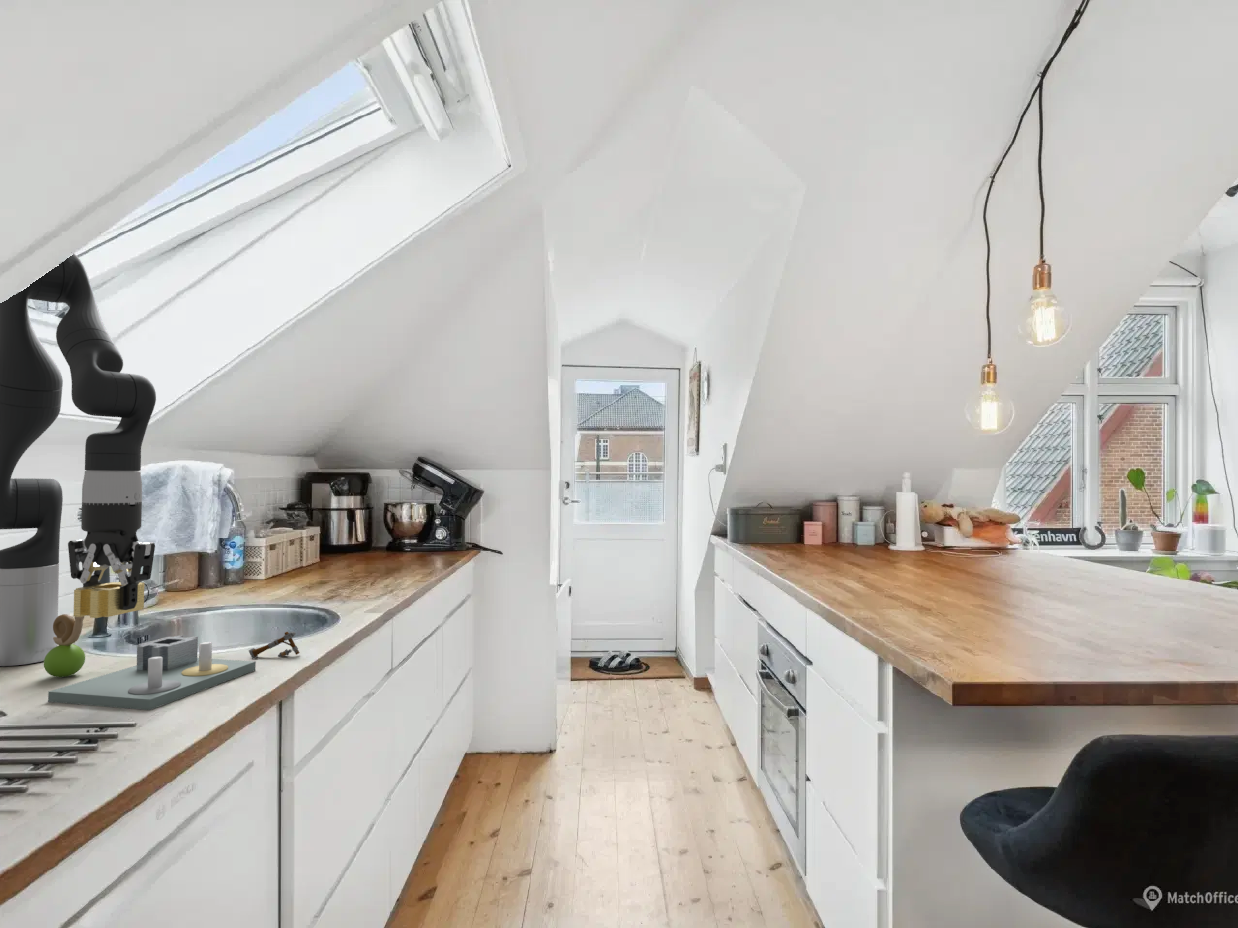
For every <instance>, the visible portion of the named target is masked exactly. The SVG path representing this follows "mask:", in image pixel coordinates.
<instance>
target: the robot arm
mask: <svg viewBox="0 0 1238 928" xmlns="http://www.w3.org/2000/svg"><path fill="white" fill-rule="evenodd" d="M90 280H91V279H90V278H89V276H88V272H87V269H86V267H85V265H84V264H83V262H82V260H81V258H79V256H78V255H76V254H75V253H73V255H72V256H70V257H69V258H67V259H66V260H65V261H64V262H62V263H61V264H59V266H57V267H55V268H54V269H52V270H51V271H49V272H48V273H46V274H45V275H44V276H42V277H41V278H39V279H38V280H36V281H35V282H33V283H32V284H30V286H29V287H27V288H26V289H24V290H23V291H21V292H19V293H18V294H16V295H13V296H12V297H10V298H9V299H8V300H6V301H4V302H2V303H0V530H23V529H25V530H26V529H37V530H36V533H35V534H34V535H33V536H32V537H30V538H27V540H25V541H22V542H21V543H18V544H15V545H12V546H8V547H6V548H3V549H0V667H10V666H13V667H14V666H19V665H29V664H34V663H40V662H44V659H45V656H46V655H47V653H48V652H49V651H50V650H52V649H53V648H55V647H56V646H58V644H56V643H55V642H54V640H53V637H57V636H56V635H55V633H54V631H53V623H54V621H55V619H56V618H57V617H58V616H59V585H60V584H59V583H60V581H59V579H60V572H59V571H60V541H61V540H60V539H61V538H60V536H61V534H60V533H61V525H62V524H61V523H62V521H61V520H62V512H63V502H64V501H63V497H64V496H63V489H62V486H61V484H60V483H59V481H58V480H57V479H54V478H17V477H16V478H12V475H13V473H14V470H15V469H16V466H17V464H18V463H19V460H20V459H21V458H22V456H23V455H24V454H25V452H26V451H27V450H28V449H29V448H30V447H31V446H32V445H33V443H35V441H37V440H38V439H39V438H40V437H41V436H42V435H43V434H44V433H45V432H46V431H47V430H48V429H49V428H50V427H51V426H52V425H53V423H54V422H55V421H56V419H57V418H58V417H59V415H60V412H61V406H62V394H63V385H64V384H63V382H64V380H63V376H62V373H61V370H60V369H59V367H58V365H57V363H56V362H55V360H54V359H53V357H52V356H51V355H50V353H49V352H48V350H47V349H46V347H45V346H44V344H42V342H41V339H39V337H38V335H37V333H36V332H35V330H34V328H33V325H32V323H31V319H30V314H29V305H28V304H29V300H35V301H41V302H50V303H59V304H61V303H63V304H66V305H67V306H68V307H69V309H68V310H67V311H66V313H65V314H64V315H63V317H61V319H60V321H59V322H58V324H57V326H56V332H55V338H56V343H57V345H58V348H59V350H60V352H61V354H62V356H63V358H64V359H65V362H66V363H67V365H68V366H69V372H70V378H71V399H72V402H73V405H74V406H75V407H76V408H77V409H78V410H79V411H81V412H82V413H84V414H87V415H88V416H94V417H95V416H96V417H108V418H120V421H119V423H118V425H117V426H116V428H114V429H113V430H108V431H99V432H96V433H91V434H89V435H88V436H87V437H86V440H85V446H84V447H85V451H84V453H85V454H84V473H83V475H84V476H83V479H82V480H83V481H82V487H81V523H80V529H81V530H82V531H83V532H86V535H85V538H84V539H74V540H69V541H68V543H67V549H68V560H69V572H70V577H71V578H72V579H73V580H75V579H77V580H78V581H80V583H81V584H82V587H87V586H93V585H99V584H102V581H101V580H102V578H103V576H104V572H105V571H106V570H107V569H108V568H110V567H111V569H112V571H113V573H115V574H117V577H118V580H119V582H120V583H121V585H123V586H120V609H121V610H129V609H133V608H135V606H136V604H137V597H138V596H137V595H138V584H139V583H143V582H144V581H149V580H151V576H152V570H153V562H154V557H155V550H156V544H155V542H153V541H152V542H151V541H150V542H143V541H139V538H138V535H137V531H138V530H139V529H141V528H142V517H143V516H142V512H143V509H142V508H143V480H142V474H141V471H142V470H141V467H142V445H143V442H144V438H145V434H146V432H147V428H148V425H149V423H150V420H151V418H152V414H153V412H154V409H155V405H156V401H157V392H156V389H155V387H154V385H153V383H152V382H151V380H149V379H148V378H147V377H146V376H143V375H140V374H134V373H125V372H122V370H123V368H124V360H123V357H122V354H121V352H120V351H119V348H118V347H117V346H116V343H115V342H114V341H113V339H112V337H111V335H110V333H109V332H108V331H107V328H106V327H105V324H104V322H103V319H102V316H101V313H100V309H99V306H98V303H97V300H96V295H95V293H94V290H93V288H92V287H93V286H92V285H91V284H92V283H91V281H90ZM80 563H81V565H82V566H81V567H82V569H81V568H80ZM141 571H142V572H141ZM128 574H129V575H128Z"/></svg>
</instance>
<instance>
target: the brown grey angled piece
mask: <svg viewBox="0 0 1238 928" xmlns="http://www.w3.org/2000/svg"><path fill="white" fill-rule="evenodd" d="M296 634H297V633H296V631H290V632H289V631H285V632H284V635H283V636H282V637H280V638H277V639H274V641H271V642H269V643H267V644H266V645H263V646H261V647H258V648H255V647H252V648H250V649H249V650H248V652H249V654H250V657H251V659H252V660H254V659H256V658H258V657H259V655H260V654H262V653H263V652H265V651H267V650H271V649H272V648H274V647H277V646H279V645H280V644H282V643H283V644H286V645H288V646H290V647H291V649H288V648H287V649H285V650H284V651H280V652H279V653H278V654H277V657H278V658H283V657H286V656H289V655H290V653H292V652H294V654H295V656H296V655H298V654H300V650H299V648H298V646H297V645H296V643H295V642H294V640H293V638H294V637H295V636H296ZM287 641H288V642H287Z"/></svg>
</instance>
